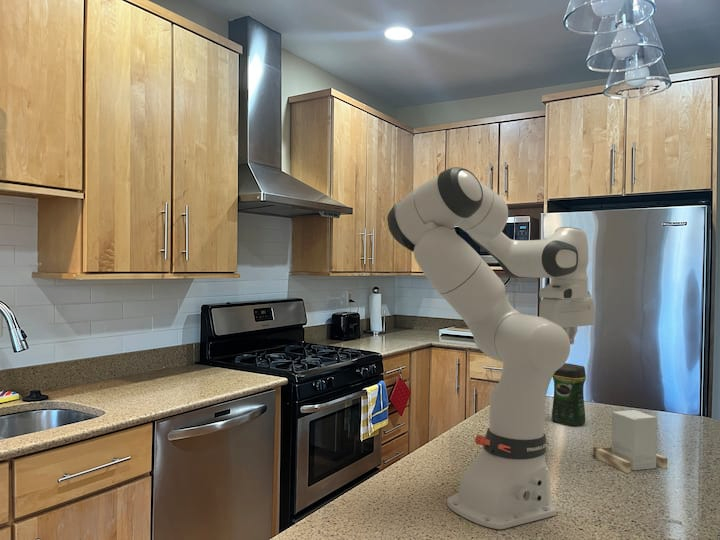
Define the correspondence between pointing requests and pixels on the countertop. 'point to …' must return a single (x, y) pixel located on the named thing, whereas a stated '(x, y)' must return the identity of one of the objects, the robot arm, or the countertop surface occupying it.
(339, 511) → the countertop surface
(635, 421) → the supplement box
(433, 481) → the countertop surface
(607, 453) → the corral
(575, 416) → the coffee jar
